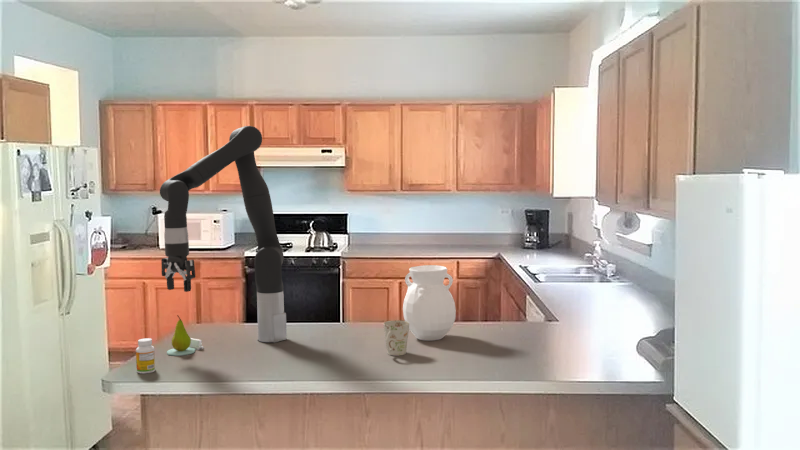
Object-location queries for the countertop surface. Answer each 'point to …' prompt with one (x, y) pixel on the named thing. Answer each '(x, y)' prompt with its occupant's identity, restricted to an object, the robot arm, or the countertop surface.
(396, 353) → the mug
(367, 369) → the countertop surface
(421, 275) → the white handled vase
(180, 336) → the fruit
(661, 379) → the countertop surface
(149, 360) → the supplement bottle
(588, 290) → the countertop surface
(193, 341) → the rail
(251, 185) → the robot arm
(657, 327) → the countertop surface
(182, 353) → the pad
